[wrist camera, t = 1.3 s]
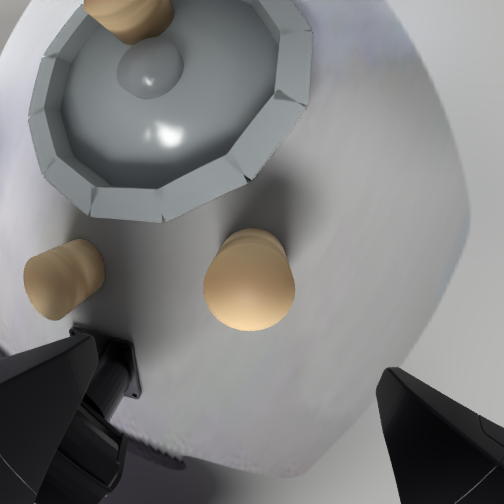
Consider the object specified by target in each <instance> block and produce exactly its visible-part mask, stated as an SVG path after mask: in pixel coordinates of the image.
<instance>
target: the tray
mask: <svg viewBox="0 0 504 504" xmlns="http://www.w3.org/2000/svg"><path fill="white" fill-rule="evenodd" d="M170 2H171V4H172V6H173V7H174V11H175V15H174V19H173V21H172V23H171V24H170V26H169V27H168V28H167V30H166V31H165V32H163V33H162V34H161V35H160V36H158V37H152V38H147V39H144V40H141V41H139V42H137V43H136V44H134V45H127V44H125V43H123V42H122V41H120V40H119V39H118V38H117V37H116V36H115V35H113V34H112V33H111V32H110V31H109V30H108V29H106V28H105V27H104V26H103V25H102V24H100V23H99V22H98V21H97V20H96V19H94V18H93V17H92V16H91V15H89V14H88V13H87V12H86V11H85V10H84V5H83V4H81V6H80V7H79V8H78V9H77V10H76V11H75V13H74V14H73V15H72V16H71V18H70V19H69V20H68V21H67V23H66V24H65V25H64V26H63V28H62V29H61V30H60V32H59V33H58V35H57V36H56V37H55V39H54V40H53V42H52V43H51V44H50V46H49V47H48V49H47V50H46V52H45V53H44V55H45V56H46V57H44V58H42V60H41V63H40V67H39V70H38V74H37V77H36V81H35V85H34V89H33V94H32V98H31V103H30V108H29V114H28V116H29V117H30V118H29V119H28V122H29V127H30V131H31V136H32V140H33V144H34V148H35V152H36V156H37V159H38V163H39V166H40V170H41V173H42V175H43V174H45V175H44V178H45V179H46V180H47V181H48V182H49V183H50V184H51V185H52V186H54V187H55V188H56V189H57V190H58V191H59V192H60V193H61V194H63V195H64V196H65V197H66V198H67V199H68V200H69V201H71V202H72V203H73V204H74V205H75V206H76V207H77V208H79V209H80V210H81V211H82V212H83V213H85V214H86V215H87V216H88V215H91V217H95V218H108V219H121V220H133V221H144V222H156V223H163V222H165V221H166V222H167V221H170V220H172V219H174V218H176V217H178V216H180V215H182V214H184V213H186V212H188V211H190V210H192V209H194V208H197V207H199V206H201V205H203V204H205V203H207V202H209V201H211V200H213V199H215V198H218V197H220V196H222V195H224V194H226V193H228V192H231V191H233V190H235V189H237V188H239V187H242V186H244V185H246V184H248V183H249V180H248V178H250V179H251V180H254V178H255V177H256V176H257V174H258V173H259V172H260V170H261V169H262V168H263V166H264V165H265V164H266V162H267V161H268V160H269V158H270V157H271V156H272V154H273V153H274V152H275V150H276V149H277V148H278V146H279V145H280V144H281V143H282V141H283V140H284V139H285V137H286V136H287V135H288V133H289V132H290V131H291V130H292V128H293V127H294V126H295V125H296V123H297V122H298V121H299V119H300V118H301V116H302V115H303V113H304V112H305V110H306V109H307V108H306V107H307V105H308V101H309V89H310V75H311V60H312V42H313V32H311V30H312V28H311V27H310V25H309V24H308V22H307V21H306V19H305V18H304V16H303V15H302V14H301V12H300V11H299V9H298V8H297V7H296V5H295V4H294V3H293V1H292V0H170Z"/></svg>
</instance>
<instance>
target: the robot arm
mask: <svg viewBox="0 0 504 504" xmlns="http://www.w3.org/2000/svg"><path fill="white" fill-rule="evenodd" d="M74 332H75V333H74ZM69 333H70V337H68V338H65V339H62V340H59V341H56V342H53V343H50V344H46V345H43V346H40V347H37V348H34V349H31V350H28V351H25V352H22V353H18V354H15V355H12V356H9V357H6V358H2V359H0V504H98V503H99V502H100V500H101V499H102V498H103V497H105V496H106V495H108V494H109V493H110V492H112V491H113V490H114V488H115V487H116V486H117V484H118V483H119V481H120V478H121V476H122V472H123V466H124V460H125V454H126V448H127V443H128V436H127V435H125V434H124V433H121V432H120V431H119V430H117V429H116V428H115V427H114V426H113V425H111V424H110V423H109V421H110V419H111V417H112V415H113V413H114V412H115V410H116V408H117V406H118V405H119V403H120V401H121V399H122V398H123V396H126V397H130V398H134V399H139V398H140V396H141V391H140V386H139V381H138V375H137V369H136V362H135V356H134V348H133V345H132V344H131V343H130V342H129V341H126V340H121V339H117V338H113V337H109V336H106V335H102V334H99V333H95V332H91V331H88V330H84V329H80V328H77V327H72V328H71V329H70V330H69ZM126 346H127V347H128V348H127V347H126ZM376 397H377V402H378V408H379V413H380V419H381V425H382V430H383V434H384V438H385V442H386V445H387V449H388V453H389V456H390V460H391V464H392V468H393V471H394V475H395V479H396V484H397V488H398V492H399V497H400V501H401V504H504V428H503V427H501V426H499V425H497V424H495V423H493V422H491V421H489V420H488V419H486V418H484V417H482V416H481V415H478V414H477V413H475V412H473V411H472V410H470V409H468V408H466V407H464V406H463V405H461V404H459V403H458V402H456V401H454V400H453V399H451V398H449V397H447V396H446V395H444V394H442V393H441V392H439V391H437V390H436V389H434V388H432V387H430V386H429V385H427V384H425V383H424V382H422V381H420V380H419V379H417V378H415V377H414V376H412V375H410V374H408V373H407V372H405V371H404V370H402V369H400V368H399V367H388V368H386V369H385V370H384V372H383V374H382V376H381V379H380V381H379V383H378V385H377V388H376Z"/></svg>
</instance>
